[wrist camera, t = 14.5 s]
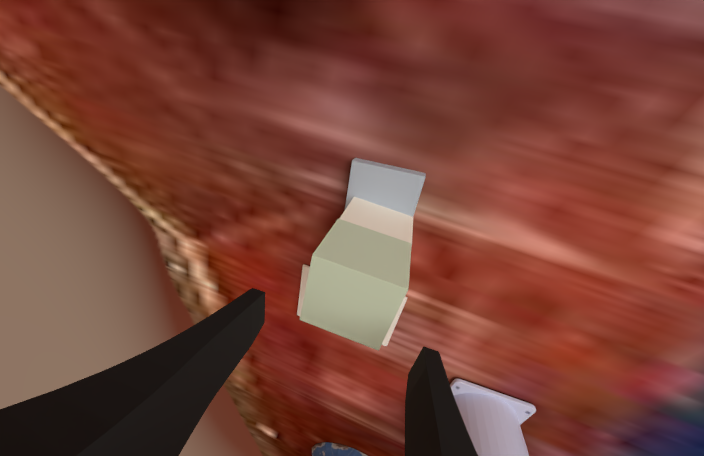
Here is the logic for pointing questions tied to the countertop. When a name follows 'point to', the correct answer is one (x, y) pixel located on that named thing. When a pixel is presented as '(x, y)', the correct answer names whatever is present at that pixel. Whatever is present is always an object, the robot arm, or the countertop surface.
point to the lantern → (334, 450)
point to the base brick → (385, 185)
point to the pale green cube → (356, 283)
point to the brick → (379, 219)
